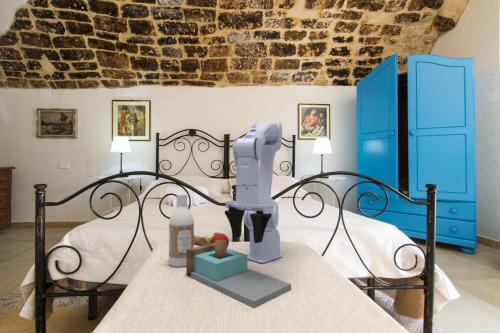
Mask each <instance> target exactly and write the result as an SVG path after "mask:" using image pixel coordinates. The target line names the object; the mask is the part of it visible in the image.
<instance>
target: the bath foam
mask: <svg viewBox="0 0 500 333" xmlns="http://www.w3.org/2000/svg"><path fill="white" fill-rule="evenodd" d="M193 216H194V215H193V214H192V212H191V210H190V209H189V207H188V194H187V193H177V194H176V207H175V208H174V210H173V212H172V213H171V216H170V217H169V223H168V224H169V225H168V263H169V265H170V266H171V267H175V268H182V267H184V268H185V267H186V257H187V249H190V248H194V247H195V244H194V236H195V221H194V217H193Z"/></svg>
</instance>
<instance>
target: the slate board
mask: <svg viewBox="0 0 500 333" xmlns="http://www.w3.org/2000/svg"><path fill="white" fill-rule="evenodd" d="M185 271H186V270H185ZM185 273H186V274H187V275H188V276H187V275H186V274H185V275H186V276H187V277H189V278H191V279H194V280H195V281H197V282H199V283H202V284H203V285H206V286H208V287H210V288H212V289H214V290H216V291H219V292H221V293H223V294H225V295H227V296H228V297H230V298H233V299H235V300H237V301H238V302H241V303H243V304H244V305H247V306H249V307H251V308H257V307H258V306H260V305H263V304H264V303H267V302H268V301H271V300H272V299H274V298H277V297H278V296H280V295H283V294H285V293H287V292H289V291H291V290H292V283H289V282H286V281H285V280H284V281H283V280H280V279H278V278H275V277H272V276H270V275H266V274H263V273H260V272H259V271H255V270H252V269H249V268H247V271H244V272H242V273H239V274H236V275H233V276H230V277H227V278H224V279H222V280H219V281H215V280H212V279H210V278H208V277H206V276H203V275H201V274H199V273H197V272H191V273H190V272H188V271H186V272H185ZM190 275H191V277H190Z"/></svg>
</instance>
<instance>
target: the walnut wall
mask: <svg viewBox="0 0 500 333" xmlns="http://www.w3.org/2000/svg"><path fill="white" fill-rule="evenodd" d="M214 250H215V243H212V244H208V245H203V246H201V245H199V246H196V247H195V246H194V248H190V249H187V257H186V266H185V267H186V270H185V271H188V272H190V273H191V272H194V255H198V254H202V253H206V252H210V251H214ZM185 275H186V276H187V277H189V276H188V275H187V274H185ZM189 278H191V275H190V277H189Z"/></svg>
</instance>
